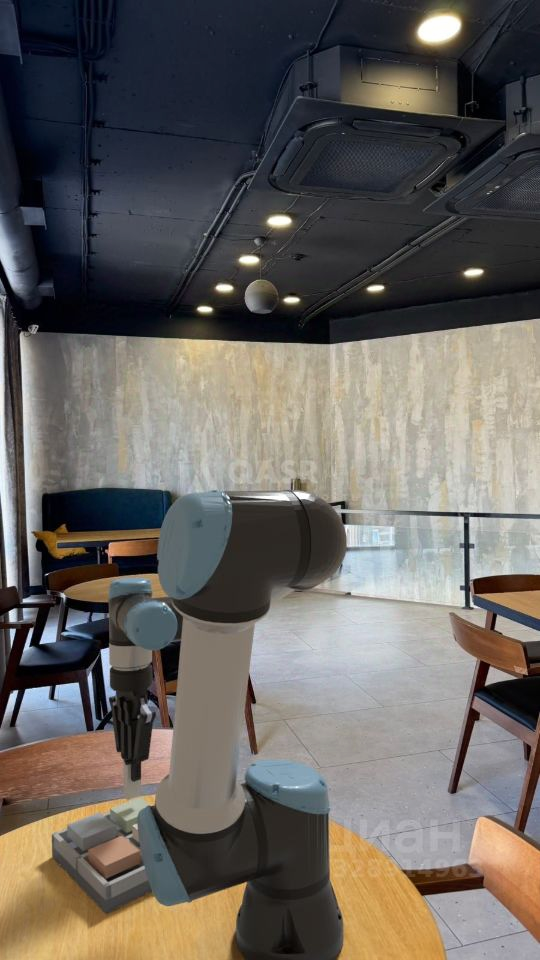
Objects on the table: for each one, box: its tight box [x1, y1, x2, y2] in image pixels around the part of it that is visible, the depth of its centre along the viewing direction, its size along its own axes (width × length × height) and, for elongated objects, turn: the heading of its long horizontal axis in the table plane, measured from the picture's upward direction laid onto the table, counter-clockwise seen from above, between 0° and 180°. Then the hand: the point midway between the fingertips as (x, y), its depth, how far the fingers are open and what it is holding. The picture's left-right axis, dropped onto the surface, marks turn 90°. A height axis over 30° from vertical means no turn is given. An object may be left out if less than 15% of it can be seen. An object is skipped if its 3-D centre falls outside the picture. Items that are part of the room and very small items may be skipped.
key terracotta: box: [88, 836, 140, 879], centre depth 102 cm, size 6×6×2 cm
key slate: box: [66, 812, 116, 851], centre depth 108 cm, size 6×6×2 cm
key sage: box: [109, 796, 153, 833], centre depth 113 cm, size 6×6×2 cm
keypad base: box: [51, 811, 152, 915], centre depth 107 cm, size 20×17×4 cm
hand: (132, 795), depth 114 cm, fingers closed
